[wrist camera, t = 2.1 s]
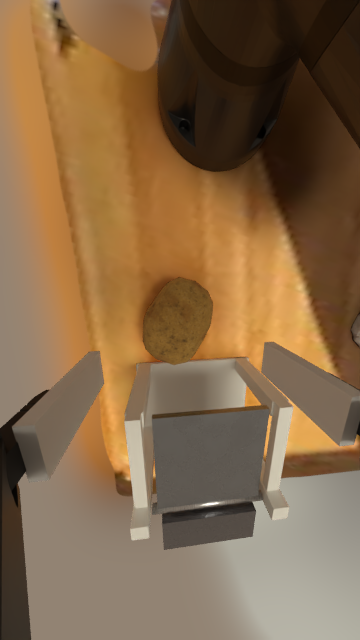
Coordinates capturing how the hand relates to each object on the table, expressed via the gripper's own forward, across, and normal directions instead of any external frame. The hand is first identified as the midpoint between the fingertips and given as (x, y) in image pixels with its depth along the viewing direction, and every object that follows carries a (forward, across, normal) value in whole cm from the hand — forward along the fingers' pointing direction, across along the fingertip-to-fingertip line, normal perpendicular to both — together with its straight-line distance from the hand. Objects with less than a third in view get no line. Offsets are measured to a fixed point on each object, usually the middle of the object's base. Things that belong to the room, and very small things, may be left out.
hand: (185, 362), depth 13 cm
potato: (+15, 0, 0) cm, 15 cm away
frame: (+15, +3, -17) cm, 23 cm away
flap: (+6, +3, -18) cm, 19 cm away
